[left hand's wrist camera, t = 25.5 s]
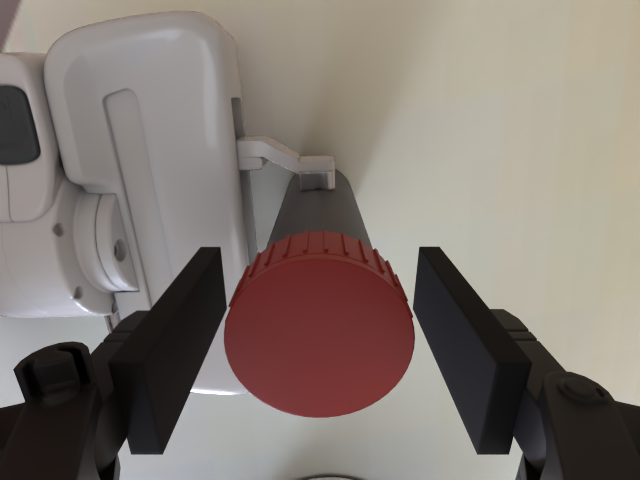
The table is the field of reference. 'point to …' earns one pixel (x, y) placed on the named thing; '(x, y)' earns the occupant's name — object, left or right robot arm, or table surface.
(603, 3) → the table surface
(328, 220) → the jar
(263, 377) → the lid
